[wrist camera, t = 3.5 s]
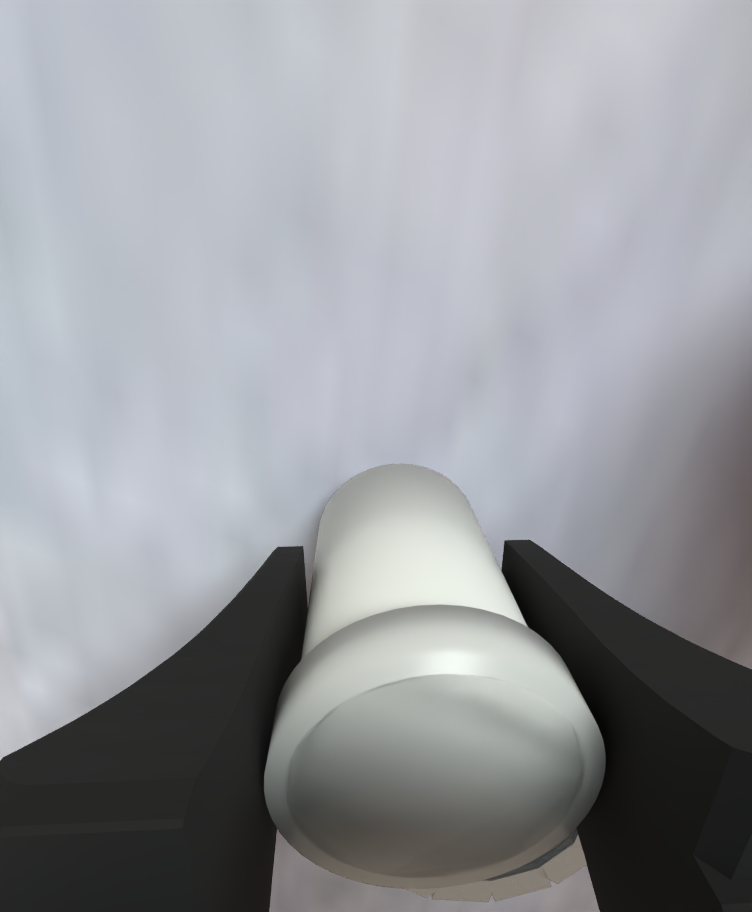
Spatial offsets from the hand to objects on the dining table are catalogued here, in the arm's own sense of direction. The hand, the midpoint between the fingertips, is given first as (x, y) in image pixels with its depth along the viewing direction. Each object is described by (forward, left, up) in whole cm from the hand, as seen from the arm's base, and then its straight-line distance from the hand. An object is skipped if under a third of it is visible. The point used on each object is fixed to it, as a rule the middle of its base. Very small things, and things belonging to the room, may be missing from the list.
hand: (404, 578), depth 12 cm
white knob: (0, 0, -2) cm, 2 cm away
